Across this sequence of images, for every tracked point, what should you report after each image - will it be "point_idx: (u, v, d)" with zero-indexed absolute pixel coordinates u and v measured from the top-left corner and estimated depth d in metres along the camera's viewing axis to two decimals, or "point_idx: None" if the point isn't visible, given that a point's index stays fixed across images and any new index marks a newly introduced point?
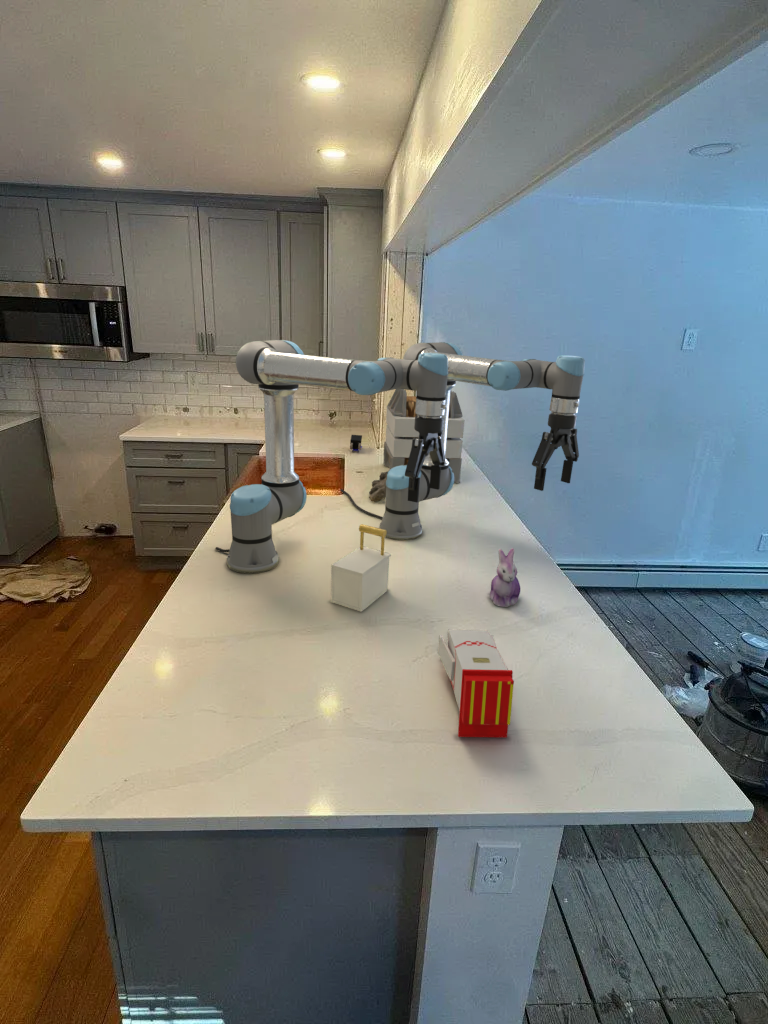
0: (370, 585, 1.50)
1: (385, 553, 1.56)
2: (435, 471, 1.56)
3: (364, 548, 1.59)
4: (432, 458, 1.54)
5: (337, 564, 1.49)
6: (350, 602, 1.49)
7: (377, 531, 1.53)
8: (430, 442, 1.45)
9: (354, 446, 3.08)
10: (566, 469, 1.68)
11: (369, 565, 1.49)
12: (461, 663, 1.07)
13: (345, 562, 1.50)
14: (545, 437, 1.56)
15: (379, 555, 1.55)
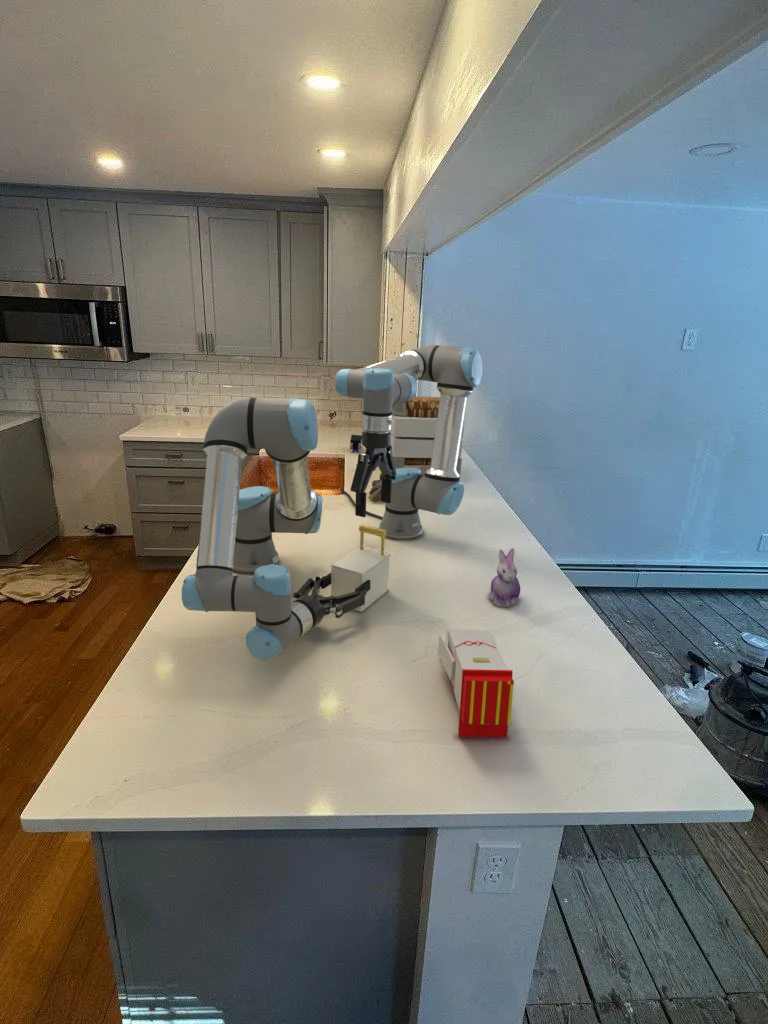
0: (370, 585, 1.50)
1: (385, 553, 1.56)
2: None
3: (364, 548, 1.59)
4: None
5: (337, 564, 1.49)
6: None
7: (377, 531, 1.53)
8: None
9: (354, 446, 3.08)
10: (385, 489, 1.56)
11: (369, 565, 1.49)
12: (461, 663, 1.07)
13: (345, 562, 1.50)
14: (361, 459, 1.42)
15: (379, 555, 1.55)
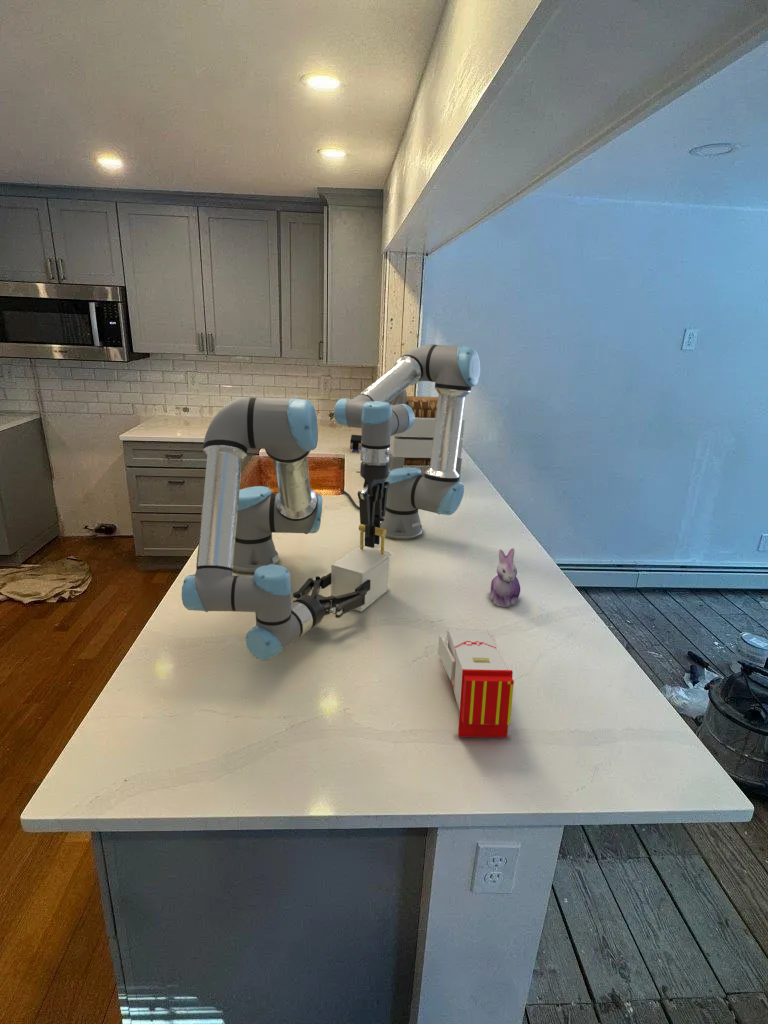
0: (371, 585, 1.50)
1: (385, 552, 1.56)
2: None
3: (364, 547, 1.59)
4: None
5: (337, 563, 1.49)
6: None
7: (377, 531, 1.53)
8: None
9: (354, 446, 3.08)
10: None
11: (369, 565, 1.49)
12: (461, 663, 1.07)
13: (345, 562, 1.50)
14: (361, 498, 1.46)
15: (379, 554, 1.55)
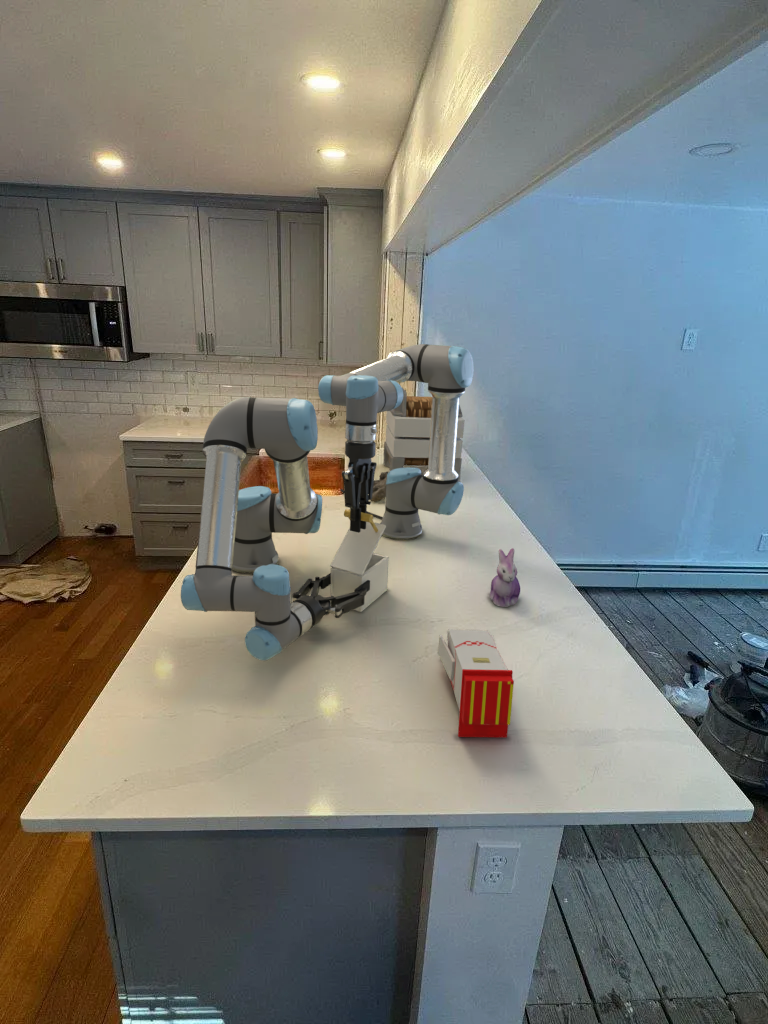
0: (370, 586, 1.49)
1: (379, 526, 1.50)
2: None
3: None
4: None
5: (336, 562, 1.48)
6: None
7: (363, 519, 1.44)
8: None
9: None
10: None
11: (366, 556, 1.46)
12: (461, 663, 1.07)
13: (343, 558, 1.48)
14: (346, 478, 1.37)
15: (374, 532, 1.49)
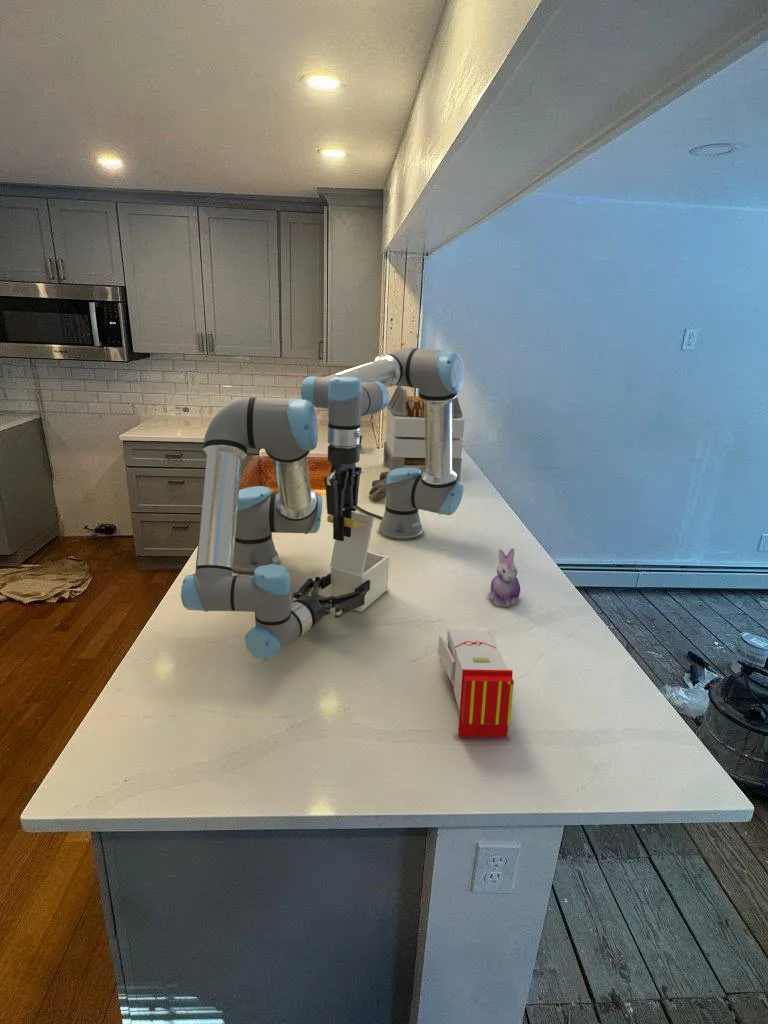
0: (370, 585, 1.50)
1: (368, 519, 1.43)
2: None
3: None
4: None
5: (334, 563, 1.47)
6: None
7: (347, 526, 1.38)
8: None
9: None
10: None
11: (361, 554, 1.44)
12: (461, 663, 1.07)
13: (340, 557, 1.47)
14: (328, 484, 1.31)
15: (364, 526, 1.44)
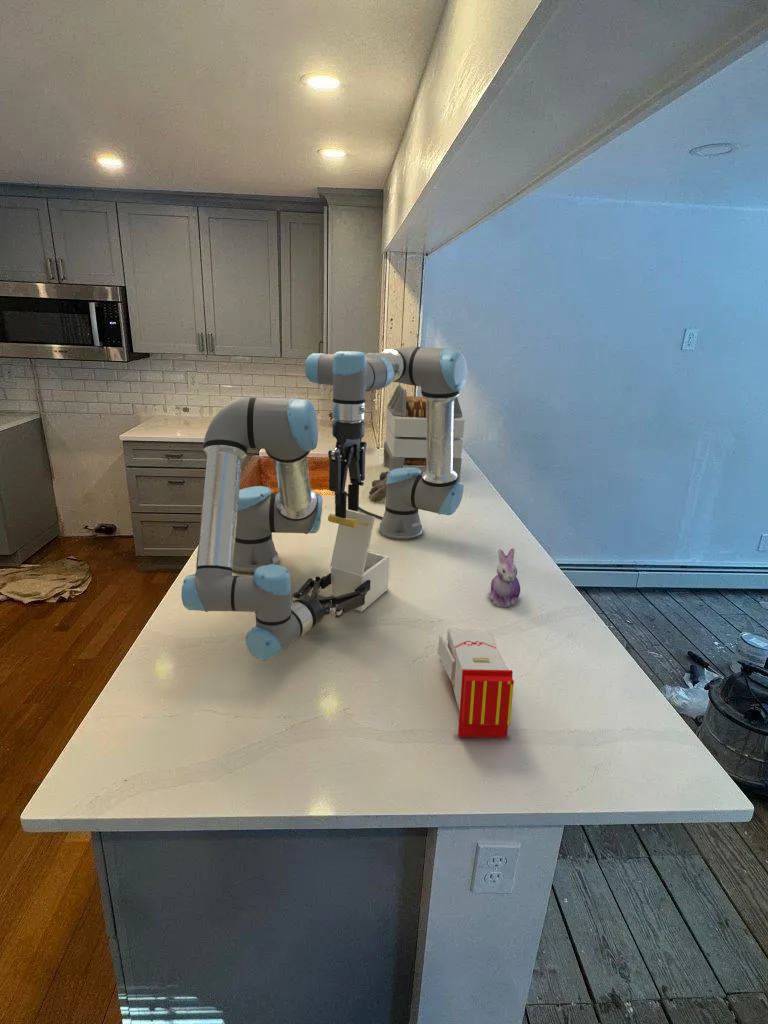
0: (370, 585, 1.50)
1: (368, 519, 1.44)
2: None
3: (346, 515, 1.46)
4: None
5: (335, 562, 1.47)
6: None
7: (348, 526, 1.38)
8: None
9: None
10: (352, 495, 1.41)
11: (362, 554, 1.44)
12: (461, 663, 1.07)
13: (340, 557, 1.47)
14: (332, 458, 1.30)
15: (364, 526, 1.44)
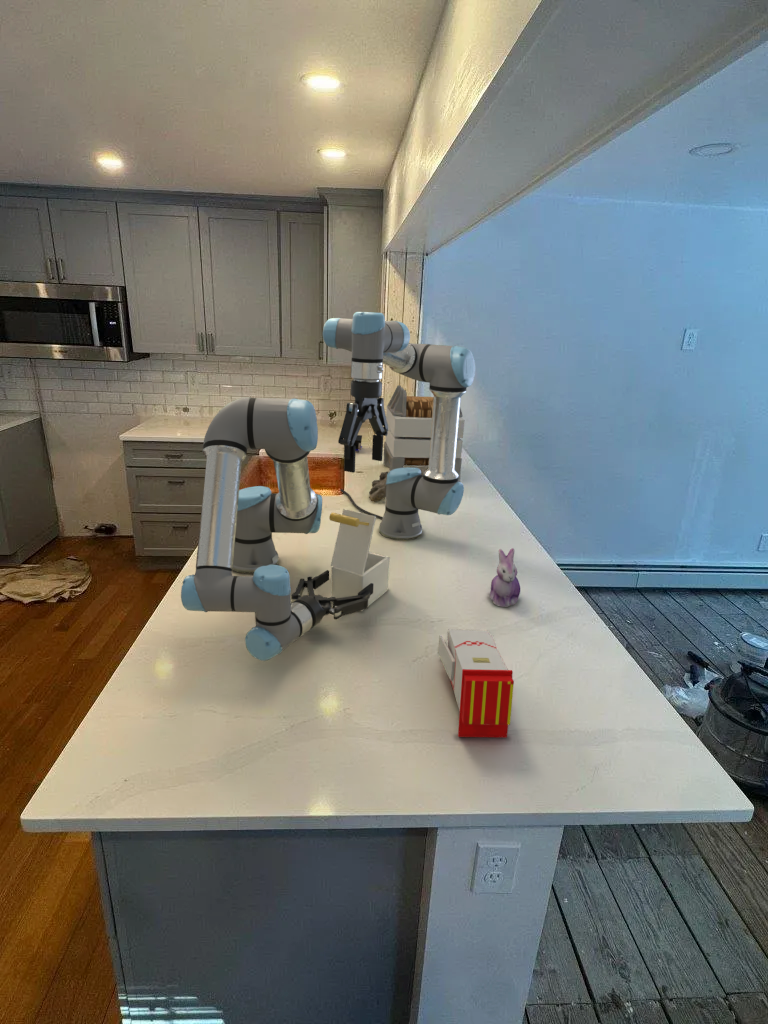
0: None
1: (369, 518, 1.44)
2: None
3: (347, 515, 1.47)
4: None
5: (335, 562, 1.48)
6: None
7: (350, 525, 1.39)
8: None
9: None
10: (376, 445, 1.47)
11: (363, 554, 1.44)
12: (461, 663, 1.07)
13: (341, 556, 1.47)
14: (350, 409, 1.32)
15: (365, 526, 1.45)
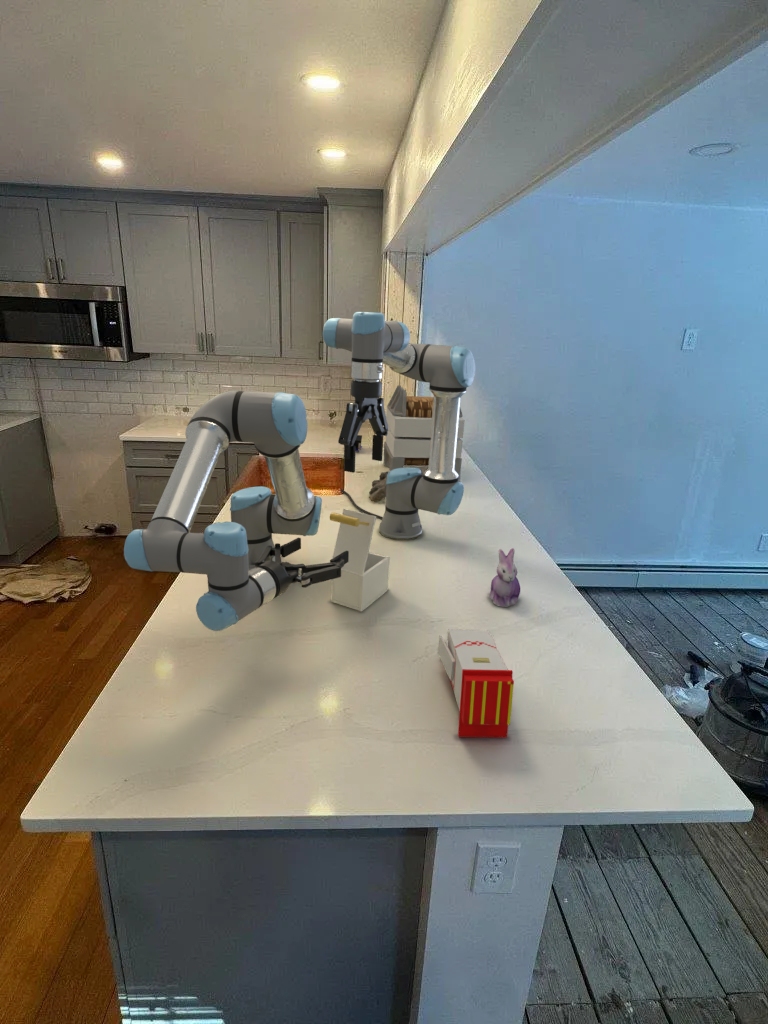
0: (371, 585, 1.50)
1: (370, 518, 1.44)
2: None
3: (348, 515, 1.47)
4: None
5: None
6: (350, 602, 1.49)
7: (350, 524, 1.39)
8: None
9: None
10: (376, 445, 1.47)
11: (363, 554, 1.44)
12: (461, 663, 1.07)
13: None
14: (350, 409, 1.32)
15: (365, 526, 1.45)
